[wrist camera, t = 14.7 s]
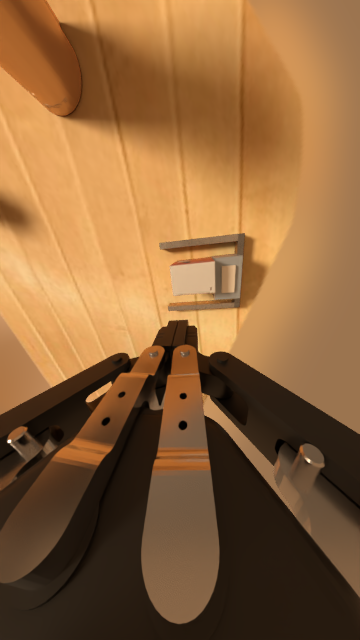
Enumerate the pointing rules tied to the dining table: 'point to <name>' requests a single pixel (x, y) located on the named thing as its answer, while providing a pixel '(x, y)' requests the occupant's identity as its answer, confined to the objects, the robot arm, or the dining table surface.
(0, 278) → the dining table surface
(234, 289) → the block
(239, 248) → the rail
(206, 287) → the small box
